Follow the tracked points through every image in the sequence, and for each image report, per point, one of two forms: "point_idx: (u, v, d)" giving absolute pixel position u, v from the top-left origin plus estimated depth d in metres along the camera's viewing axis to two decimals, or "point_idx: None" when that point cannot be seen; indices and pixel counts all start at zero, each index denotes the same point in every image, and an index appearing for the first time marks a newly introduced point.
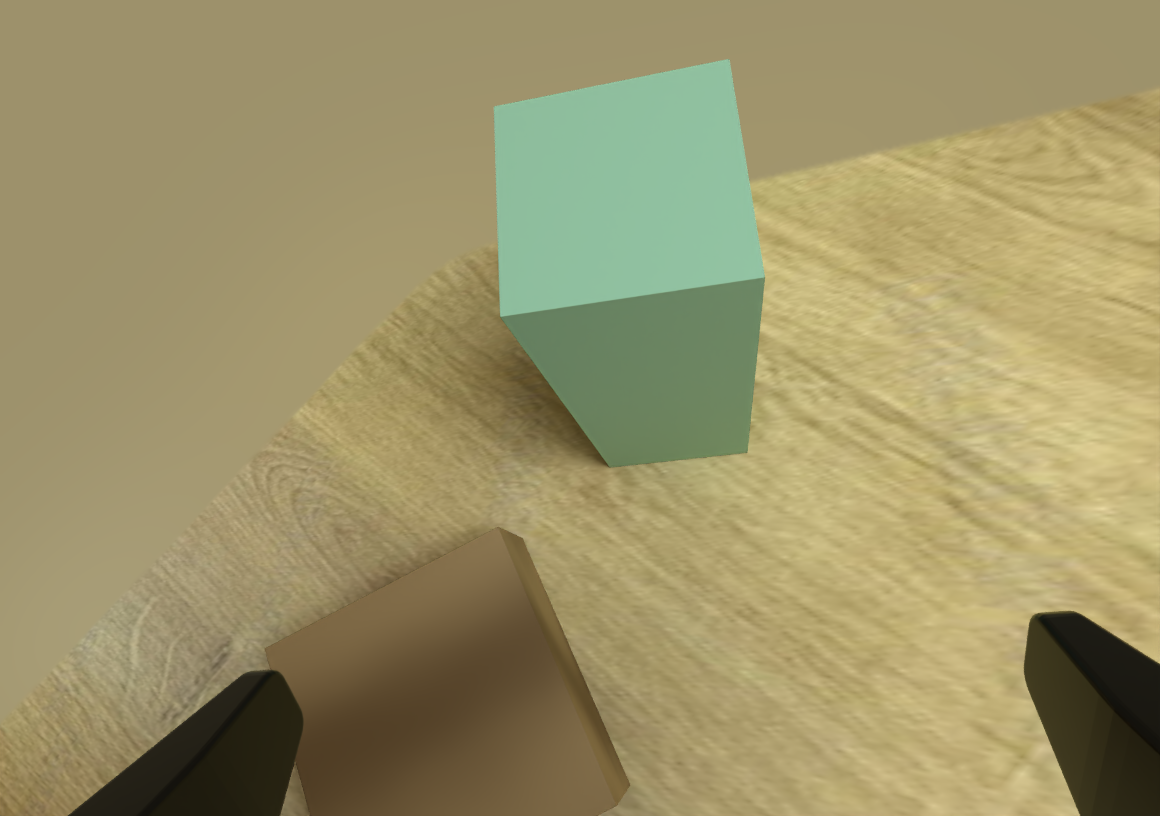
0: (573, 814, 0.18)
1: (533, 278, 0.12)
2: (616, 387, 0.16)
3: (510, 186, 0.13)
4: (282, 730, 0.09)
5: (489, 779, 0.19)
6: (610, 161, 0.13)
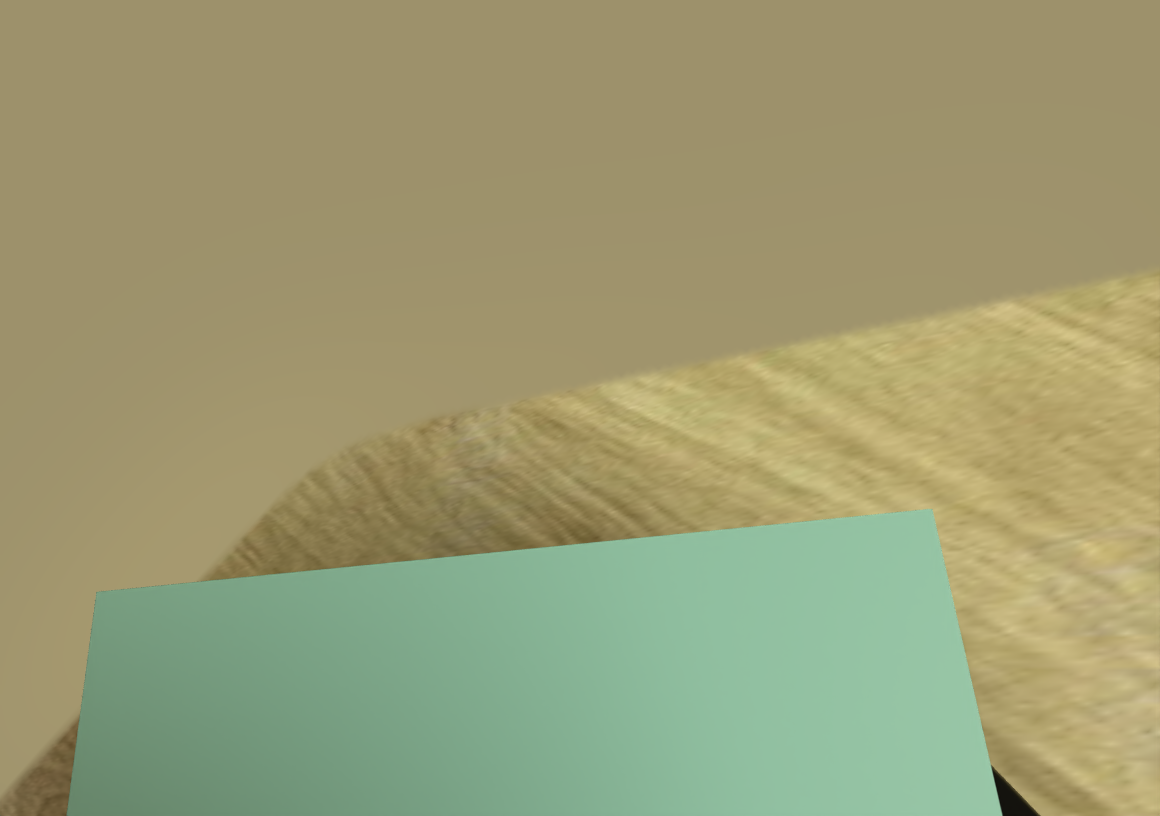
0: None
1: None
2: None
3: None
4: None
5: None
6: None
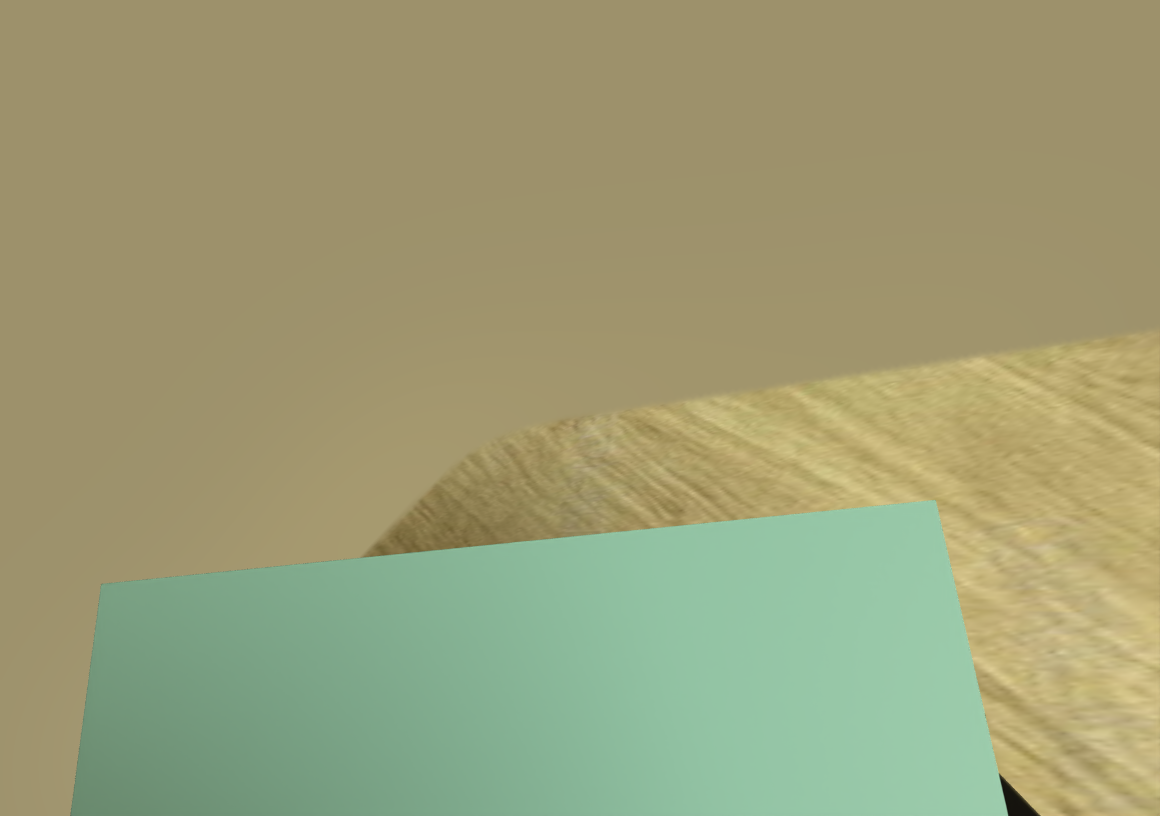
0: None
1: None
2: None
3: None
4: None
5: None
6: None
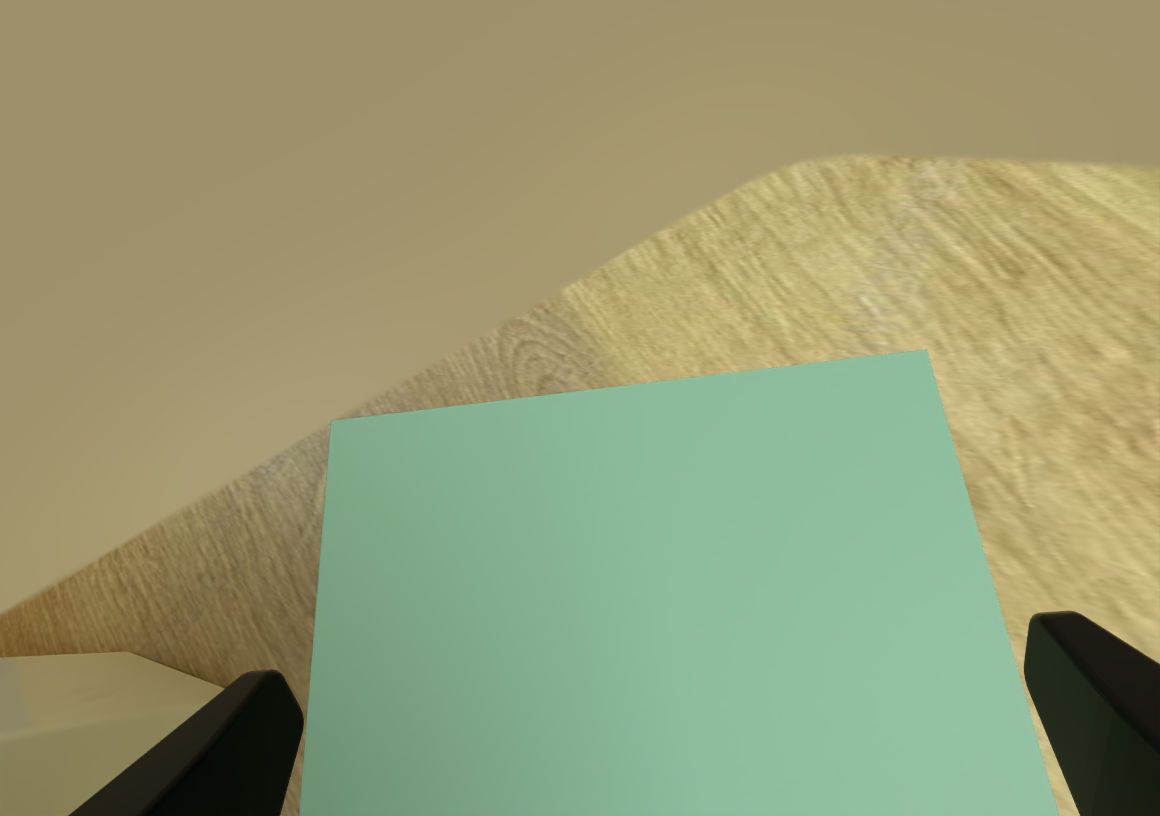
0: None
1: None
2: None
3: (348, 672, 0.05)
4: (282, 730, 0.09)
5: None
6: (619, 627, 0.05)
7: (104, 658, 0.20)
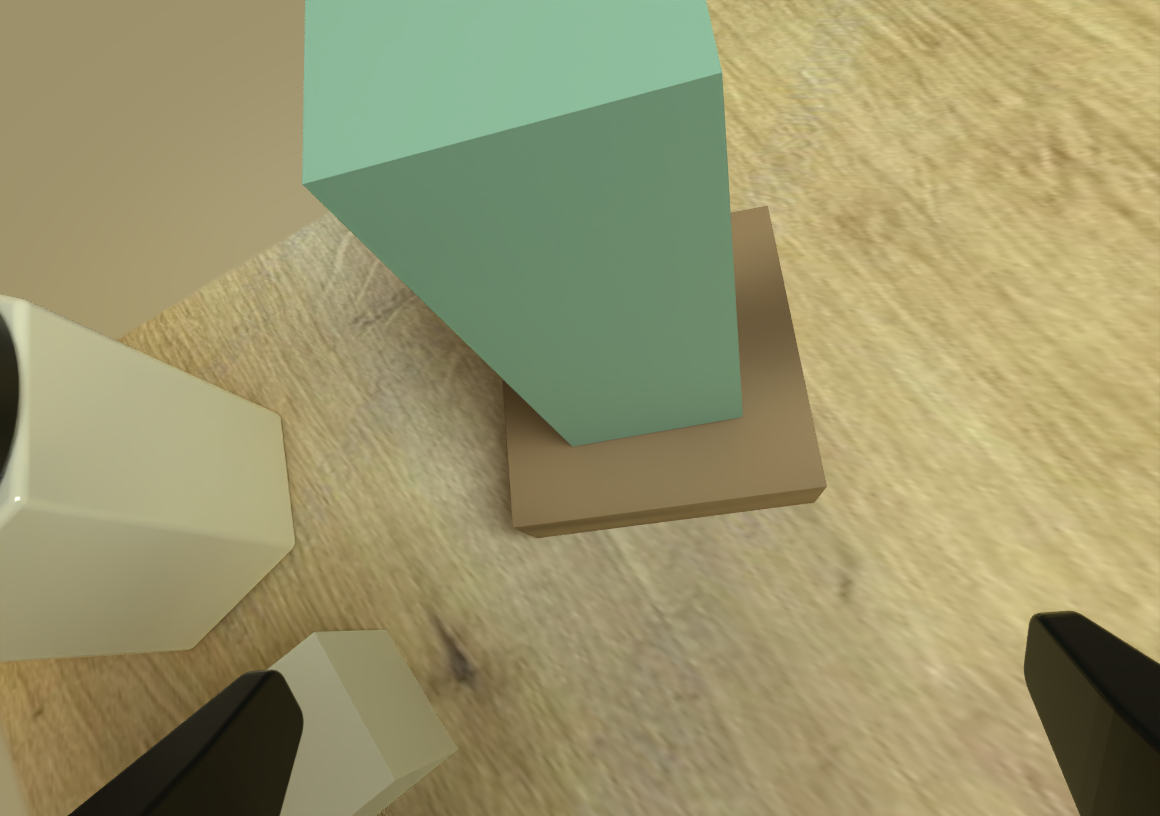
0: (778, 481, 0.17)
1: (355, 120, 0.08)
2: (540, 320, 0.11)
3: None
4: (282, 730, 0.09)
5: (696, 429, 0.18)
6: None
7: None
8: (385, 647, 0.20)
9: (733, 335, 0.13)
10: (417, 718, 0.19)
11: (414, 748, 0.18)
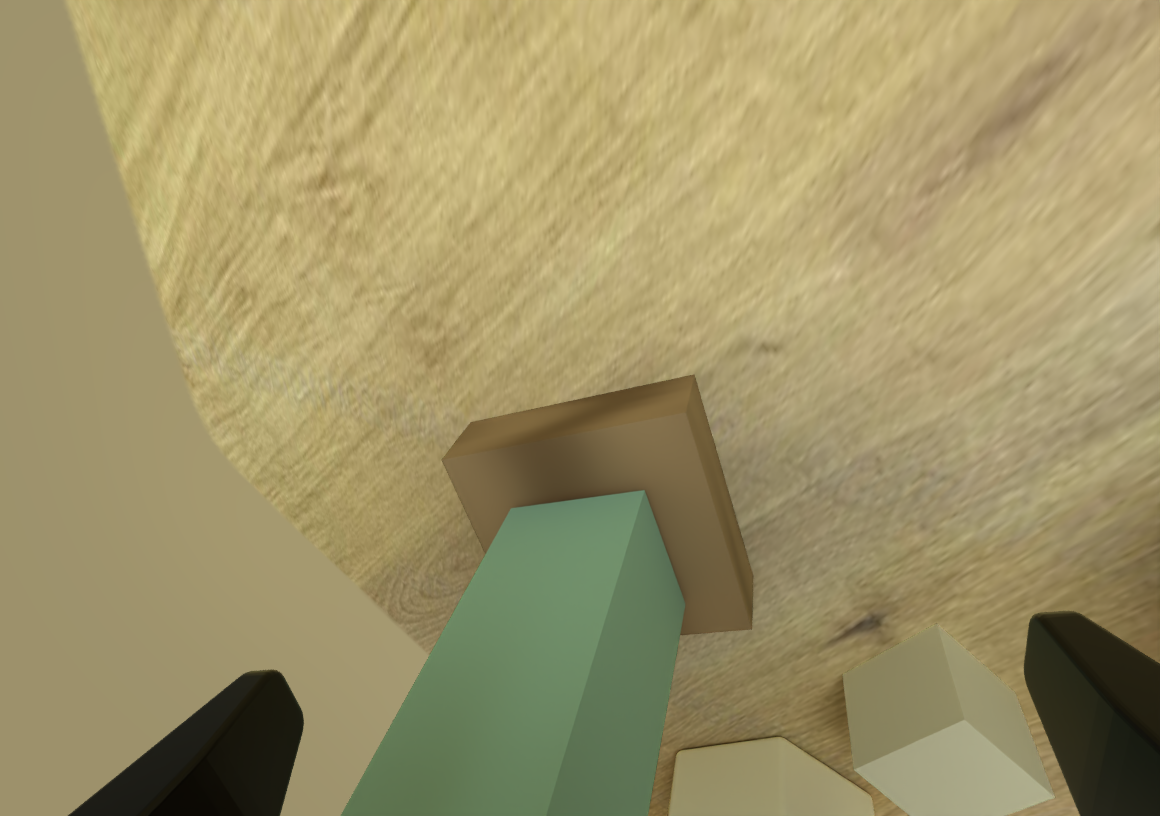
0: (687, 448, 0.20)
1: None
2: (623, 806, 0.15)
3: None
4: (282, 730, 0.09)
5: None
6: None
7: None
8: (857, 683, 0.25)
9: (603, 631, 0.16)
10: (914, 667, 0.23)
11: (938, 683, 0.22)
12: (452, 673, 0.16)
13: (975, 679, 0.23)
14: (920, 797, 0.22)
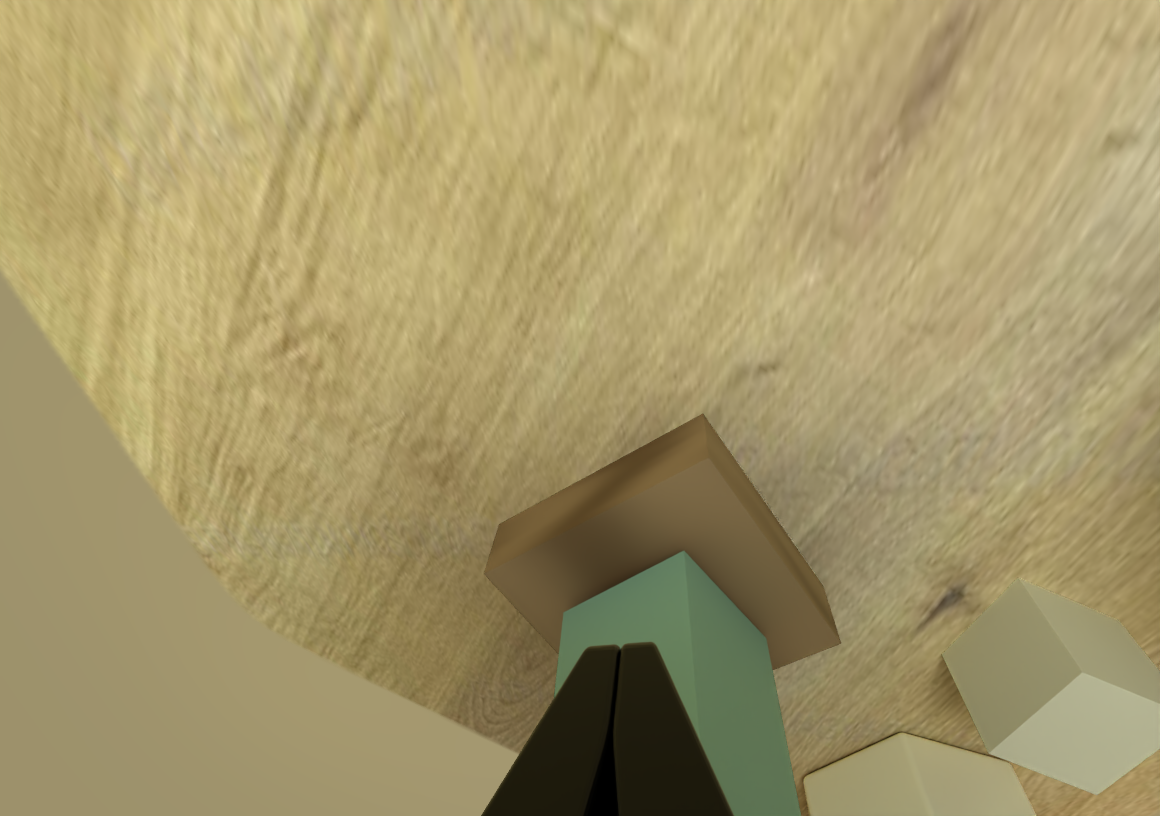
0: (721, 491, 0.20)
1: None
2: None
3: None
4: None
5: (702, 557, 0.21)
6: None
7: None
8: (960, 660, 0.24)
9: (700, 724, 0.16)
10: (1011, 630, 0.23)
11: (1042, 640, 0.21)
12: None
13: (1076, 622, 0.22)
14: (1064, 760, 0.21)
